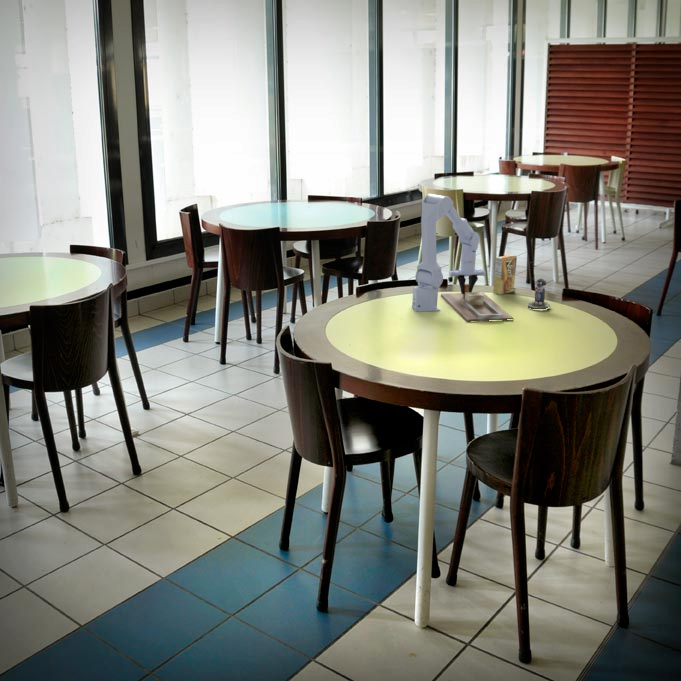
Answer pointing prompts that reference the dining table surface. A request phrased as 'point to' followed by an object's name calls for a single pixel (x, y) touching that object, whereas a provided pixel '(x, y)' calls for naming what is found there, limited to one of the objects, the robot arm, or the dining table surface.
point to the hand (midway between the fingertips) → (466, 293)
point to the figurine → (539, 296)
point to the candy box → (504, 274)
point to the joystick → (473, 296)
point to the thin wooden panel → (476, 308)
